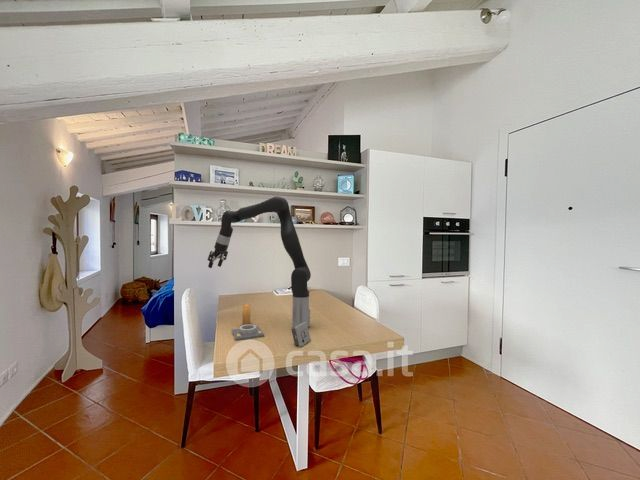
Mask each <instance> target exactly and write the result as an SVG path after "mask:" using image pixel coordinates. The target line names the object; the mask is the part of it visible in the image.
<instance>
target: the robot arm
mask: <svg viewBox="0 0 640 480" xmlns="http://www.w3.org/2000/svg"><path fill="white" fill-rule="evenodd" d="M290 210H291V209H290V205H289V202H288V200H287V199H286V198H284V197H281V196H278V195H277V196H273V197H271V198H269V199H267V200H264V201H262V202H260V203H255V204H252V205H248V206H245V207H240V208H239V209H238V210H234V211H233V210H225V211H224V212H223V213H222V216H221V221H220V225H221V226H220V230H219V233H218V235H217V238H216V240H215V244H214V246H213V247H214V251H213V250H210V252H209V254H208V257H207V261H209V263H208V266H207V267H208V268H209V269H212V268H213V265H214V262H215V261H216V260H218V263H217V267H219V268H220V267H222V265H223V262H224V261H226V260H227V259H228V258H227V257H228V254H229V251H228V248H229V244H230V242H231V237H232V235H233V233H234V232H233V231H234V229H233V227H232V224H235V223H240V222H242V221H244V220H249V219H253V218H255V217H257V216H260V215H262V214H268V213H276V215H277V217H278V221H279V223H280V238H281V242H282V245H283V248H284V249H285V251H286V253H287V254H288V256H289V257H290V259H291V261H292V263H293V267H294V269H293V270H292V272H291V276H290V281H291V282H290V285H291V286H290V287H291V293H292V311H291V312H292V315H291V316H292V317H291V318H292V319H291V320H292V323H291V326H292V328H294V327H296V326H298V325H300V324H302V323H304V322H307V325H308V328H310V327H311V309H310V291H309V290H308V282H309V280H310V279H311V277H312V276H311V275H312V274H311V271H310V268H309V266H308V263H307V261H306V259H305V256H304V253H303V248H302V246H301V242H300V239H299V236H298V233H297V230H296V228H295V227H296V226H295V224H294V222H293V219H292V214H291V211H290Z"/></svg>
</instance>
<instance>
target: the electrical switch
mask: <svg viewBox="0 0 640 480" xmlns="http://www.w3.org/2000/svg"><path fill="white" fill-rule="evenodd" d="M291 335H292V338H293V343H294V346H299V348H301V347H303V346H305V345H307V344H308V343H309V342H311V340H312V339H311V334H310V330H309V327H308V325H307V322H304V323H302V324H300V325H298V326H296V327H294V328H293V327H292V328H291Z"/></svg>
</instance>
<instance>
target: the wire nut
mask: <svg viewBox="0 0 640 480" xmlns="http://www.w3.org/2000/svg"><path fill="white" fill-rule="evenodd" d="M241 314H242V315H241V316H242V325H241V326H243V325H249V324H250V325H251V304H250V303H245V304H242V313H241Z"/></svg>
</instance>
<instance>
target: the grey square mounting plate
mask: <svg viewBox="0 0 640 480" xmlns="http://www.w3.org/2000/svg"><path fill="white" fill-rule="evenodd" d="M231 332H232V336H233V339H234V341H235V342H237V341H242V340H243V341H244V340H250V339H259V338H263V337H264V338H265V333H264V332H263V330H262V329H261V328H260V326H259V325H256V324H251V323H250V324H249V325H240V327H238V328H233V329H231Z"/></svg>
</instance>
